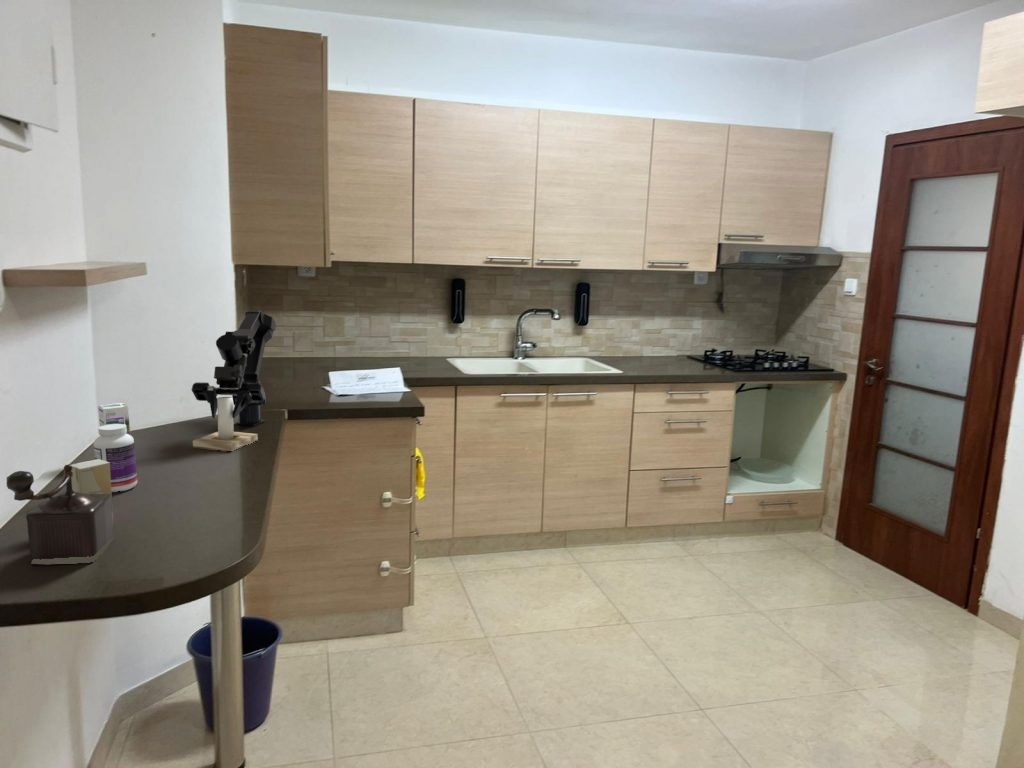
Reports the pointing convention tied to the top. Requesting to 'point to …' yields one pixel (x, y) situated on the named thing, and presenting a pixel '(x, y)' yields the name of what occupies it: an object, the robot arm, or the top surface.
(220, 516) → the top surface
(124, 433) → the pill bottle
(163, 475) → the top surface
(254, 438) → the socket block
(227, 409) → the peg
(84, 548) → the manual coffee grinder
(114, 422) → the syrup box
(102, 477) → the skincare box
